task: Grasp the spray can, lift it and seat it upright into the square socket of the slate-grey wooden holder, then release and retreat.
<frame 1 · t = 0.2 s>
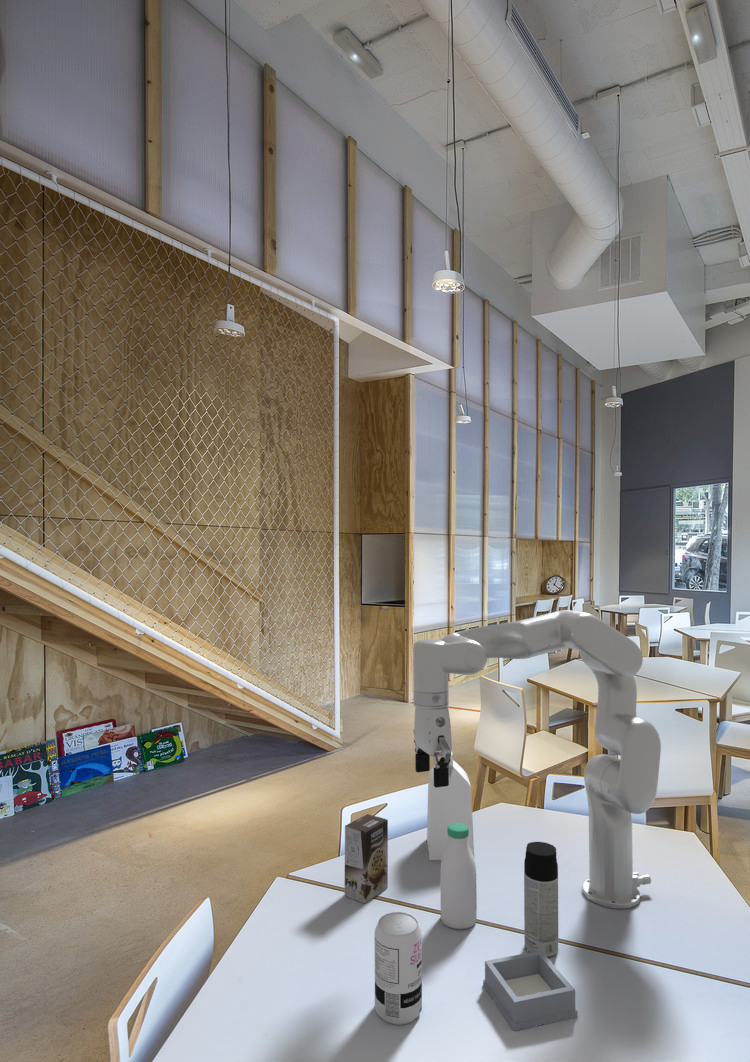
hand: (431, 778, 142), 31 cm above the table, fingers open, 9 cm apart
milk: (449, 850, 177), on the table
milk bottle: (458, 921, 143), on the table
holder: (528, 1000, 118), on the table
coffee box: (366, 892, 155), on the table
supplement can: (398, 1011, 115), on the table
spray can: (541, 949, 133), on the table
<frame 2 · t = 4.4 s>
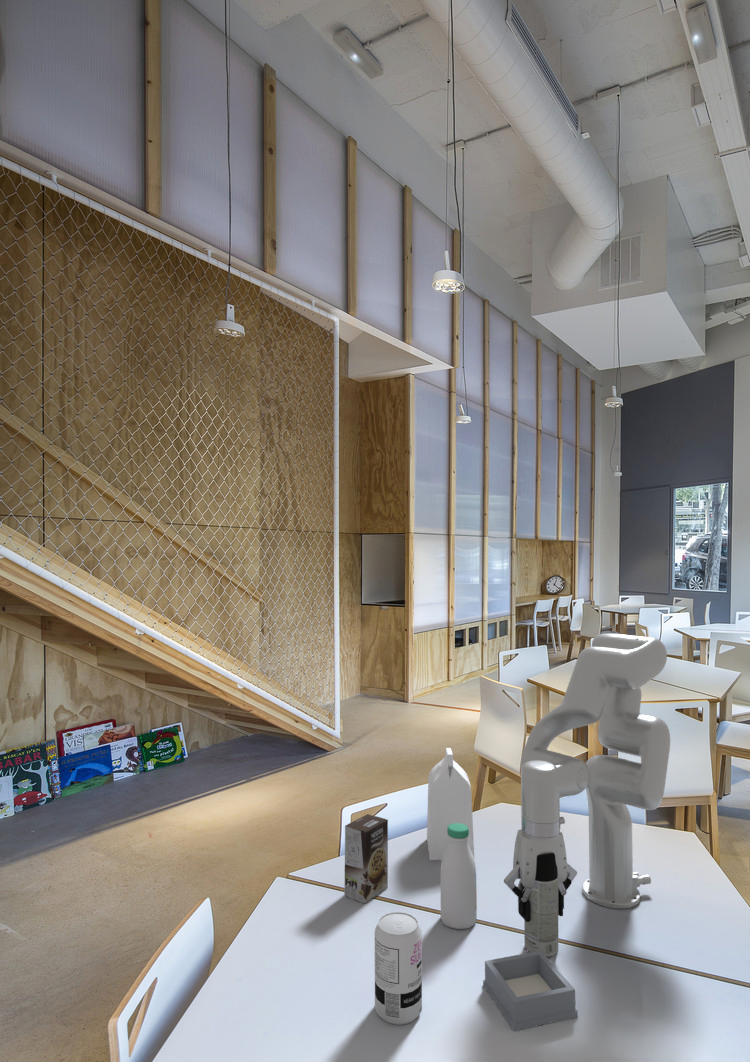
hand: (541, 914, 133), 7 cm above the table, fingers closed on spray can, 6 cm apart
spray can: (541, 949, 133), on the table, touching gripper
everything else where it was.
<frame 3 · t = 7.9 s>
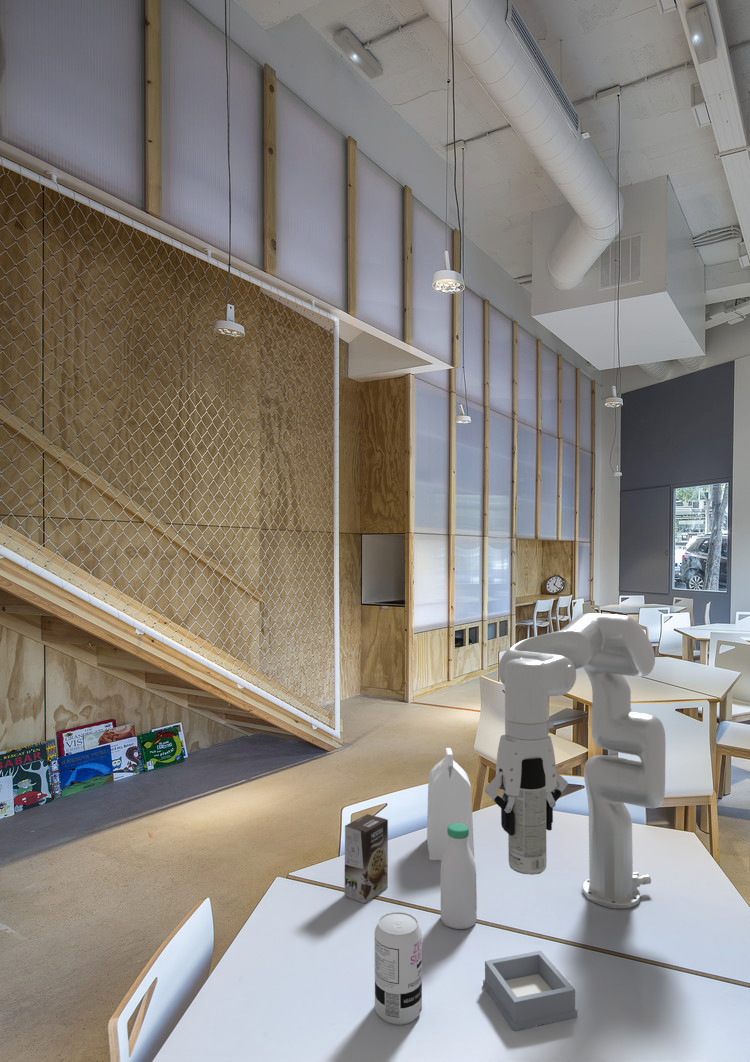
hand: (527, 829, 118), 30 cm above the table, fingers closed on spray can, 6 cm apart
spray can: (527, 868, 118), point 23 cm above the table, touching gripper
everything else where it was.
when the fingers open (8 cm above the table, at t = 11.6 s): spray can stays where it is, resting on holder.
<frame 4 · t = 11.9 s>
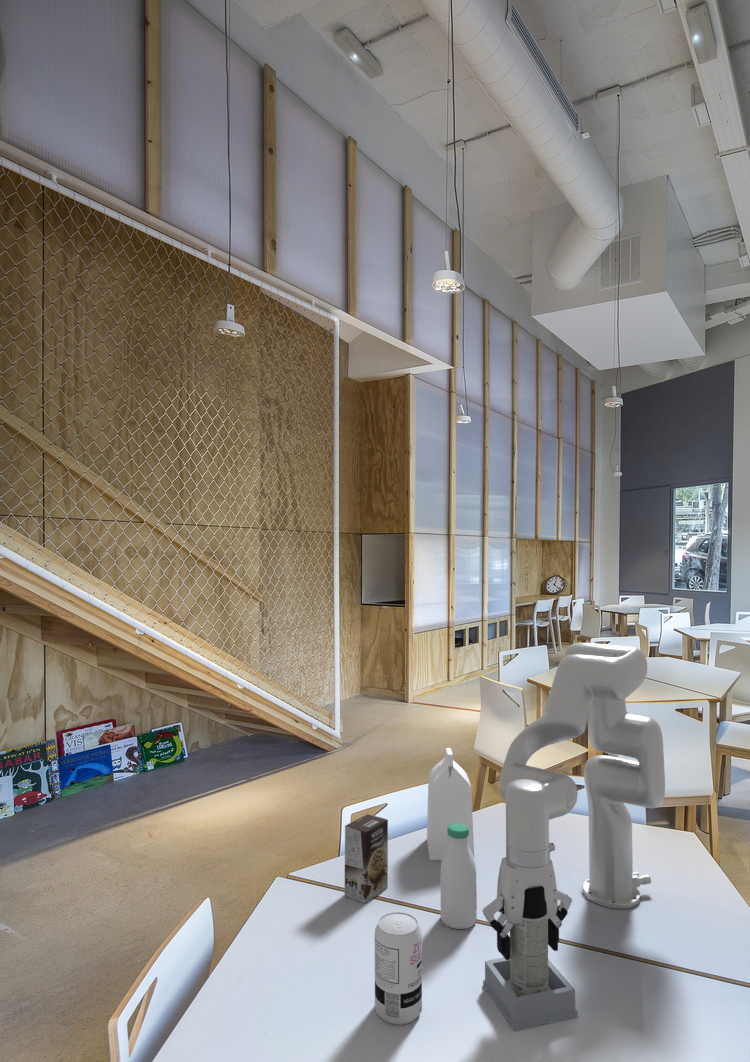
hand: (528, 950, 118), 9 cm above the table, fingers open, 9 cm apart
spray can: (529, 994, 118), point 1 cm above the table, touching holder
everything else where it was.
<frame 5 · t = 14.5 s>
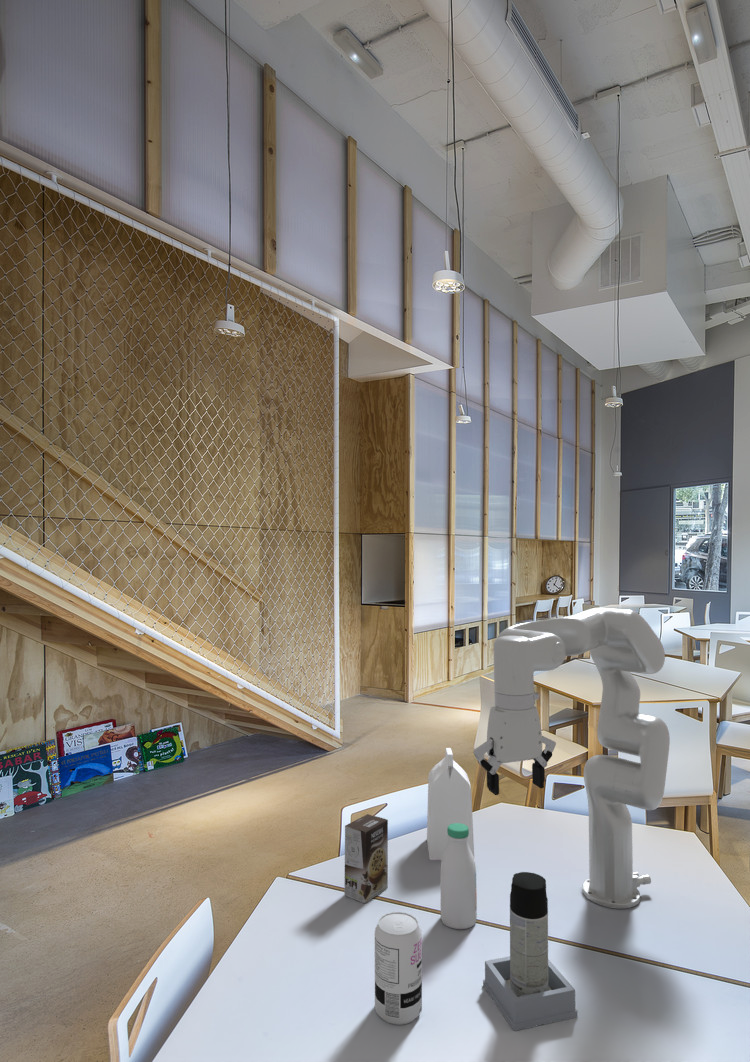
hand: (516, 789, 128), 34 cm above the table, fingers open, 9 cm apart
nothing on the table moved.
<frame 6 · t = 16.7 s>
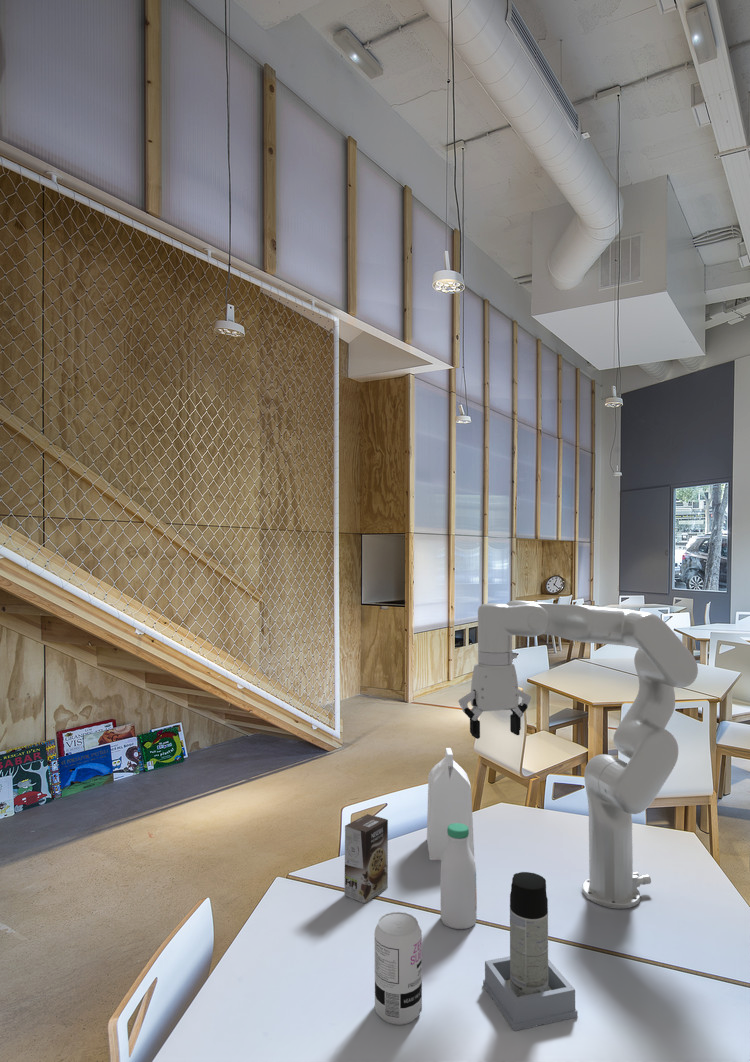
hand: (495, 735, 149), 38 cm above the table, fingers open, 9 cm apart
nothing on the table moved.
at the end: spray can 0.2 cm off-centre on the holder, point 0.9 cm above the holder's base; spray can tilted 0°; spray can touching holder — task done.
